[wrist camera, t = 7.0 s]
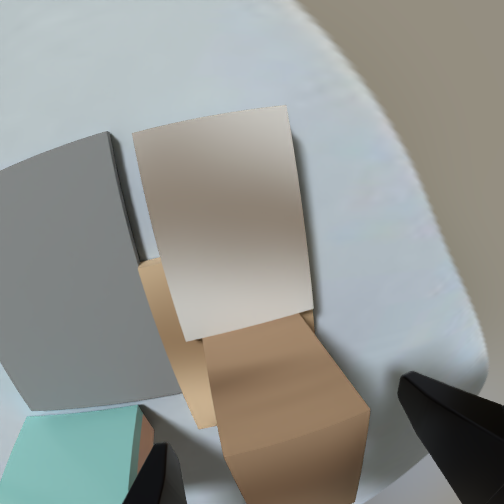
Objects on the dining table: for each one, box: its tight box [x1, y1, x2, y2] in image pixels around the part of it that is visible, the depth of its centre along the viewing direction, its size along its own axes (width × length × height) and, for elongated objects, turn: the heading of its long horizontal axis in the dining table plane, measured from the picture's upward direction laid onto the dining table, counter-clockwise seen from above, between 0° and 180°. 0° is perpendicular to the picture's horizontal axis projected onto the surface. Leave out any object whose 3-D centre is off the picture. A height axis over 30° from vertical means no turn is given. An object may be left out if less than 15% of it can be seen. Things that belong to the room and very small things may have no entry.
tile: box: [0, 405, 154, 504], centre depth 8 cm, size 2×6×6 cm, turn 103°
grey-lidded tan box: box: [132, 105, 370, 504], centre depth 7 cm, size 11×4×5 cm, turn 10°
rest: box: [138, 257, 315, 429], centre depth 10 cm, size 7×5×1 cm
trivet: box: [0, 131, 182, 411], centre depth 9 cm, size 9×7×1 cm
